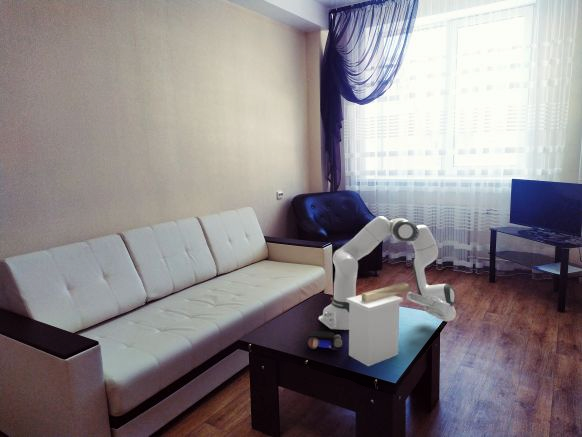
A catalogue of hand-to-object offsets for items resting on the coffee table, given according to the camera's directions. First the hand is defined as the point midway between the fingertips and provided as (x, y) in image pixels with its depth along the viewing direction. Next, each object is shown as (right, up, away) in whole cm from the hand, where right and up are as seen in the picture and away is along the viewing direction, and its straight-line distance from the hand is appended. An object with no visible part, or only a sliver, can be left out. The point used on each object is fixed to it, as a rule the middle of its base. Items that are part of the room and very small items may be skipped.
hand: (417, 296), depth 198 cm
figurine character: (-44, -23, -5) cm, 50 cm away
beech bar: (-18, +3, -12) cm, 22 cm away
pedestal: (-23, -23, -12) cm, 35 cm away
